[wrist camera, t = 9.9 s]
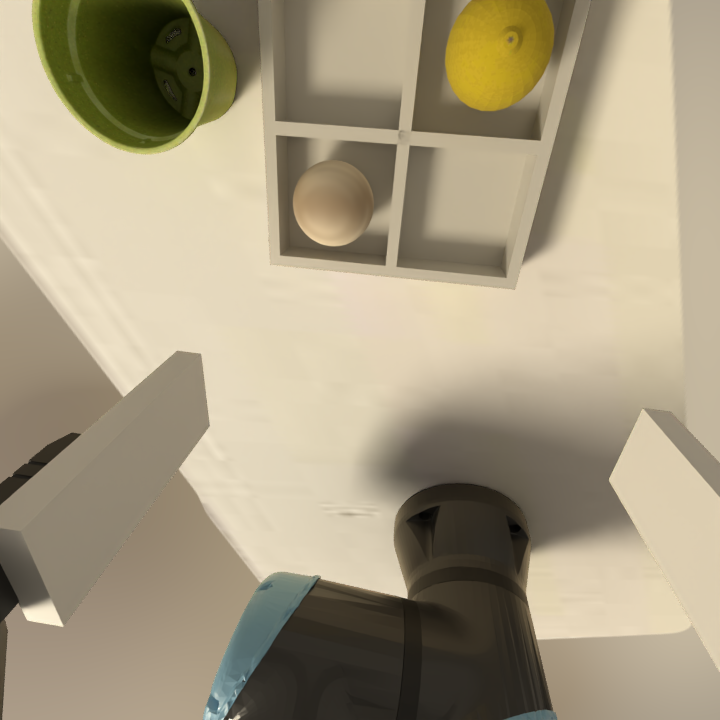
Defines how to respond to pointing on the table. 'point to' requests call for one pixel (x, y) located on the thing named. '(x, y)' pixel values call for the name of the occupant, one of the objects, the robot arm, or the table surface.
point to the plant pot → (135, 68)
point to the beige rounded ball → (333, 203)
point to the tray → (405, 138)
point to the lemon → (498, 51)
